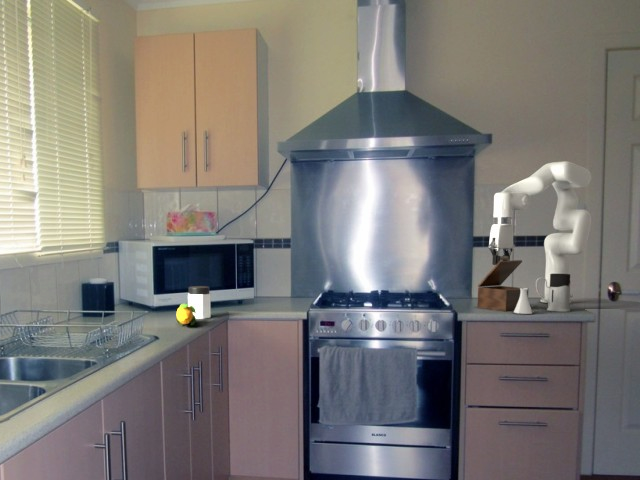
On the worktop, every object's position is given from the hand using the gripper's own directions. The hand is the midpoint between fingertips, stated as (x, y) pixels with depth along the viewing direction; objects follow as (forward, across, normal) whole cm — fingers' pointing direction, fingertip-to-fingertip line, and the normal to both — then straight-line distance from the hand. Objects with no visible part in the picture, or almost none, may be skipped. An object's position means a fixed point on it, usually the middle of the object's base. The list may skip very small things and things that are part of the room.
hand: (501, 264), depth 279 cm
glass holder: (+19, -12, +17) cm, 28 cm away
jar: (+19, +122, -42) cm, 131 cm away
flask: (+19, +6, +16) cm, 26 cm away
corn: (+19, +135, -26) cm, 139 cm away
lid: (+4, 0, 0) cm, 4 cm away
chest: (+19, 0, +2) cm, 19 cm away
